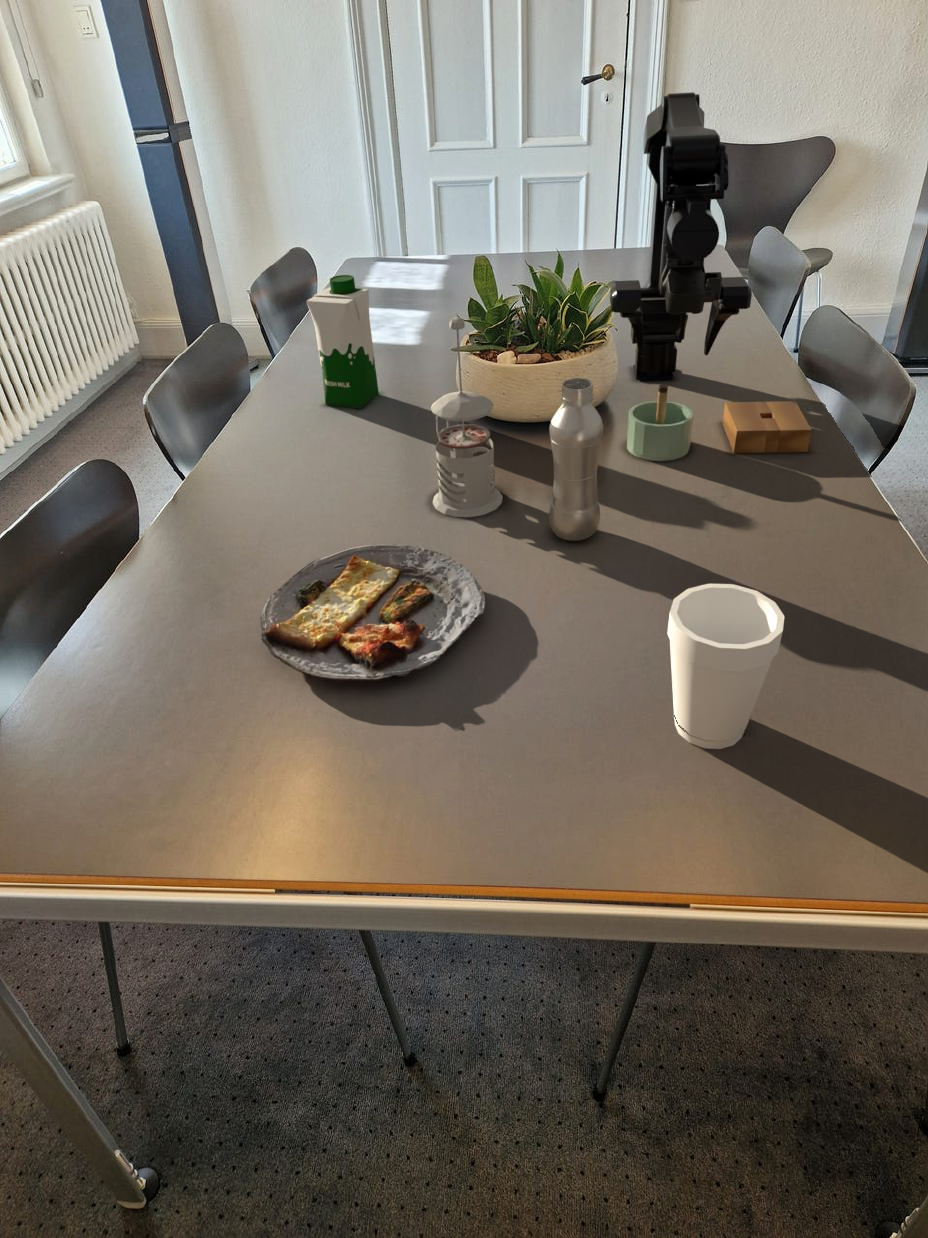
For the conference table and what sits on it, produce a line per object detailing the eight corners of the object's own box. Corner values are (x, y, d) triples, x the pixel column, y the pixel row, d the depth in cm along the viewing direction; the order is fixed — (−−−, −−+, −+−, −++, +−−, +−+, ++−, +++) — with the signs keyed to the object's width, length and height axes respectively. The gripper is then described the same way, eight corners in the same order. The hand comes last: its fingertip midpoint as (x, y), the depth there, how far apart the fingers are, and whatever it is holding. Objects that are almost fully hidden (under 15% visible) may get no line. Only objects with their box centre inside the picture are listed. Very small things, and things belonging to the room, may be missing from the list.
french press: (452, 524, 113) (438, 336, 98) (415, 489, 121) (397, 311, 106) (515, 504, 116) (511, 319, 101) (476, 472, 125) (466, 297, 110)
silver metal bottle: (606, 525, 111) (613, 375, 99) (589, 551, 106) (595, 397, 94) (559, 517, 113) (560, 370, 101) (541, 542, 108) (540, 391, 96)
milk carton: (385, 392, 152) (372, 275, 140) (362, 411, 145) (345, 291, 133) (342, 387, 155) (325, 272, 143) (317, 406, 148) (297, 288, 136)
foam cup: (647, 696, 84) (658, 588, 76) (739, 687, 84) (759, 578, 76) (674, 766, 76) (689, 654, 68) (776, 756, 77) (802, 643, 69)
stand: (733, 453, 125) (736, 430, 123) (722, 423, 133) (725, 402, 131) (807, 452, 124) (812, 429, 122) (791, 422, 132) (795, 400, 130)
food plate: (391, 722, 83) (387, 695, 81) (220, 651, 93) (213, 626, 91) (516, 592, 99) (515, 567, 97) (359, 544, 110) (355, 521, 108)
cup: (629, 461, 125) (631, 426, 121) (624, 434, 132) (627, 401, 129) (693, 460, 124) (697, 425, 120) (685, 433, 131) (688, 399, 128)
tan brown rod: (654, 445, 127) (659, 387, 122) (653, 441, 128) (658, 384, 123) (663, 445, 127) (668, 387, 122) (662, 441, 128) (667, 384, 123)
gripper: (616, 259, 109) (611, 377, 118) (767, 254, 107) (749, 374, 116) (612, 237, 117) (607, 349, 127) (751, 232, 115) (735, 345, 125)
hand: (673, 355), depth 123 cm, fingers open, 9 cm apart
